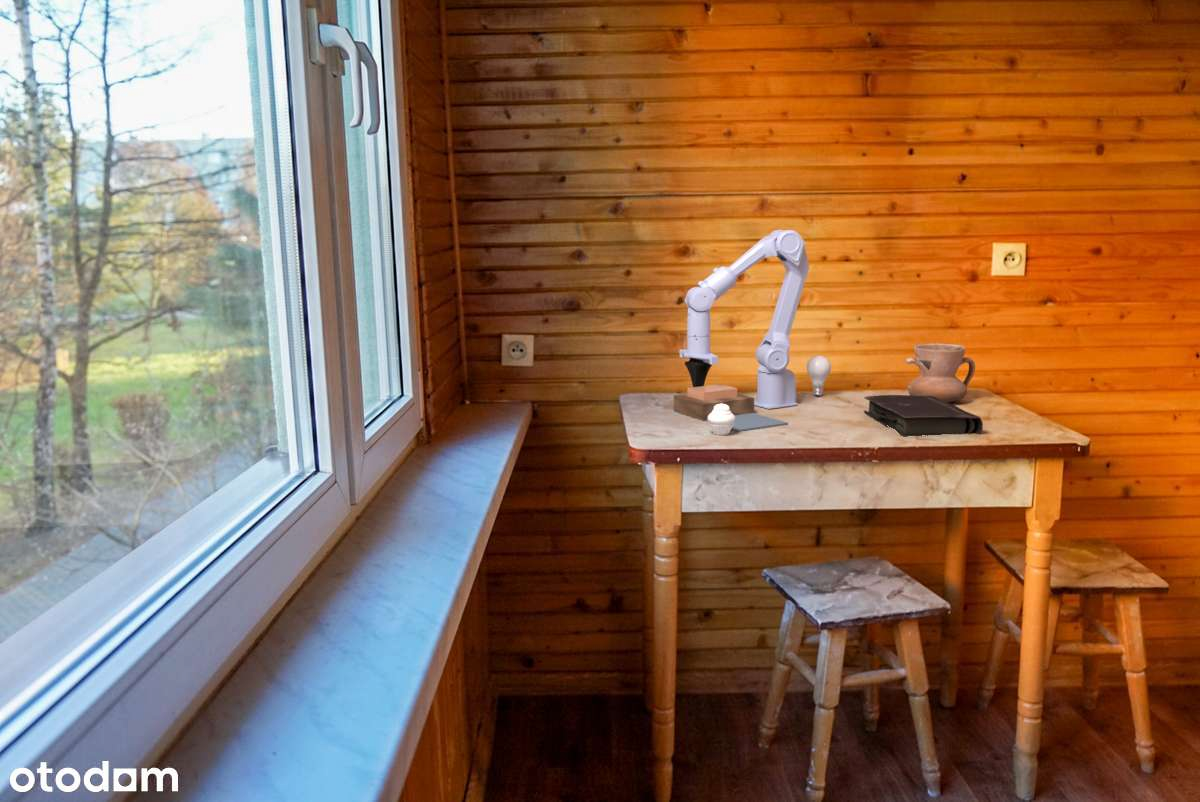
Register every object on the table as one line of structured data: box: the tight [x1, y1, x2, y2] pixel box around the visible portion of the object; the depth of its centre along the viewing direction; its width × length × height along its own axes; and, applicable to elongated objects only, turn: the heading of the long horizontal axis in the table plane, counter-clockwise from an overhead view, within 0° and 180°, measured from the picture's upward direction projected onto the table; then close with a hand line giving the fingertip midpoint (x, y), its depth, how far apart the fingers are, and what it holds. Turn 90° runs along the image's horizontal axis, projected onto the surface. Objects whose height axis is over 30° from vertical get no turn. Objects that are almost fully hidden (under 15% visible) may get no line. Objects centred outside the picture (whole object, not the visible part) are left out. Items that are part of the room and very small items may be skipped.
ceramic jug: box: [905, 343, 976, 404], centre depth 240 cm, size 18×14×14 cm
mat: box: [705, 412, 789, 432], centre depth 219 cm, size 14×13×1 cm
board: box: [673, 392, 755, 422], centre depth 231 cm, size 15×13×4 cm
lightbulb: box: [806, 354, 832, 397], centre depth 248 cm, size 6×6×11 cm
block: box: [687, 383, 739, 401], centre depth 230 cm, size 10×7×2 cm
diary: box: [863, 394, 984, 438], centre depth 216 cm, size 19×25×5 cm
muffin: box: [707, 403, 735, 436], centre depth 208 cm, size 6×6×7 cm
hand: (698, 389), depth 236 cm, fingers closed
